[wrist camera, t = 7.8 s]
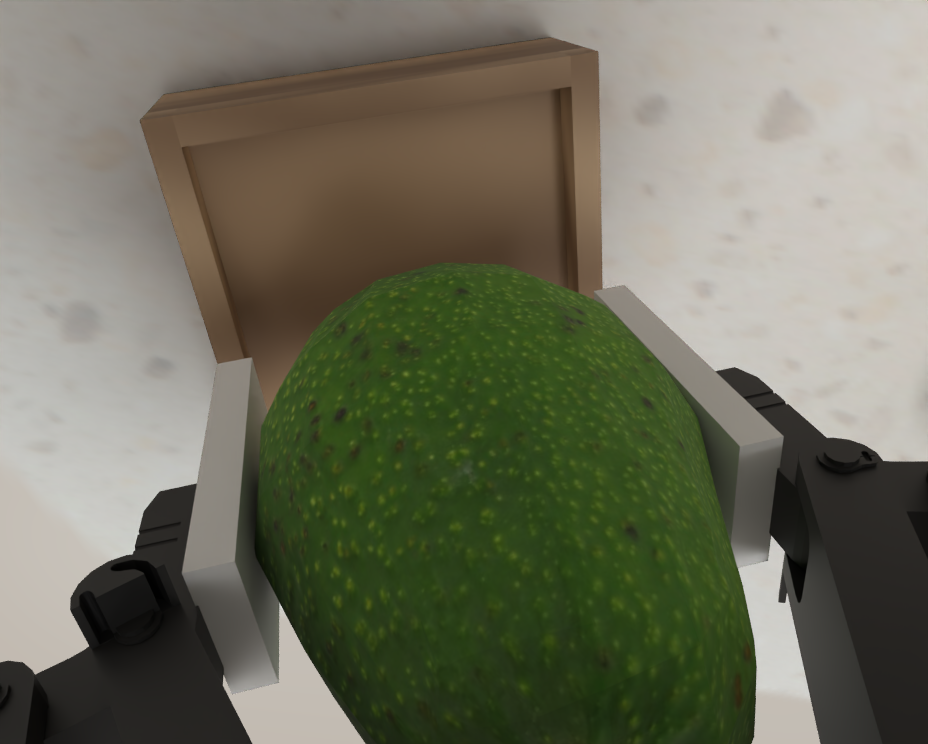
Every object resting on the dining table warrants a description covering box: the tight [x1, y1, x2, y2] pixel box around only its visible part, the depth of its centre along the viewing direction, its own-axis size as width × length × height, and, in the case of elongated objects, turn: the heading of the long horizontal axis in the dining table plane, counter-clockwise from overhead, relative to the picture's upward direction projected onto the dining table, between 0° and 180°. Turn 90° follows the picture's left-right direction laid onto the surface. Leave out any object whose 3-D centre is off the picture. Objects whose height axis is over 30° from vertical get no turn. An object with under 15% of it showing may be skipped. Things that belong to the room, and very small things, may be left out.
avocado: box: [254, 263, 757, 744], centre depth 13 cm, size 8×8×12 cm
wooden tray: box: [140, 38, 602, 411], centre depth 23 cm, size 12×12×4 cm
